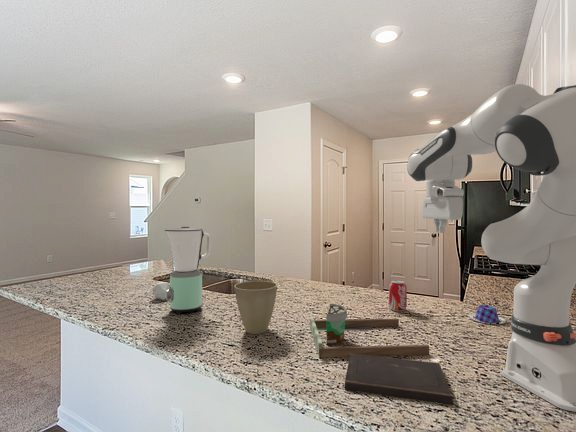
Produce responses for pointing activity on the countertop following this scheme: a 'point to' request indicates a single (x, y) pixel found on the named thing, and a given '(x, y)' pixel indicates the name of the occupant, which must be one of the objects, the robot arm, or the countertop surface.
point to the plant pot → (256, 304)
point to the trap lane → (363, 350)
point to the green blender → (186, 269)
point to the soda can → (397, 295)
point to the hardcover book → (397, 378)
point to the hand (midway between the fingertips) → (440, 232)
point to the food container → (335, 324)
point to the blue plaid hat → (486, 314)
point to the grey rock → (160, 290)
